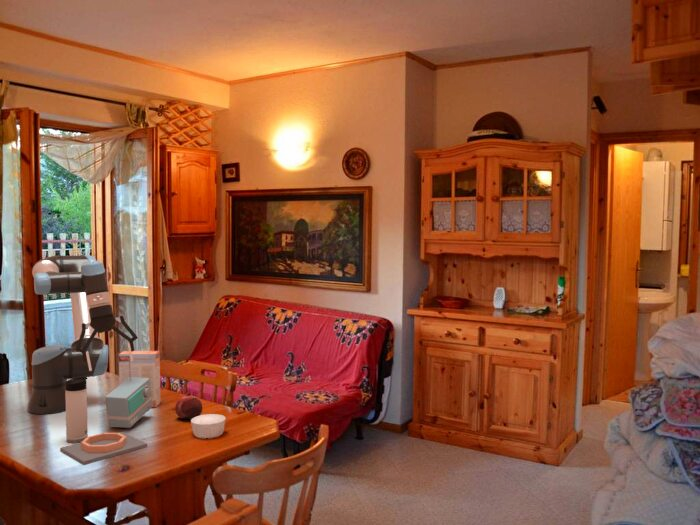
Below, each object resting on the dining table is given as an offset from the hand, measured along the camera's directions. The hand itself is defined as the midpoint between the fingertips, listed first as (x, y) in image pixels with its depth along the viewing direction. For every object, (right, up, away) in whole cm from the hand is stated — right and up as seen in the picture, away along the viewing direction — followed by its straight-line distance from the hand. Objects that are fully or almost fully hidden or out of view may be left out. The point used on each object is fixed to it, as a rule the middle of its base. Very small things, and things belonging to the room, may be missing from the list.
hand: (111, 366), depth 215 cm
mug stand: (+7, -22, -23) cm, 33 cm away
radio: (+7, -19, +2) cm, 20 cm away
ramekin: (+36, -21, -9) cm, 43 cm away
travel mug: (-5, -21, -15) cm, 27 cm away
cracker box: (+2, -19, +22) cm, 29 cm away
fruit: (+25, -20, +7) cm, 33 cm away
